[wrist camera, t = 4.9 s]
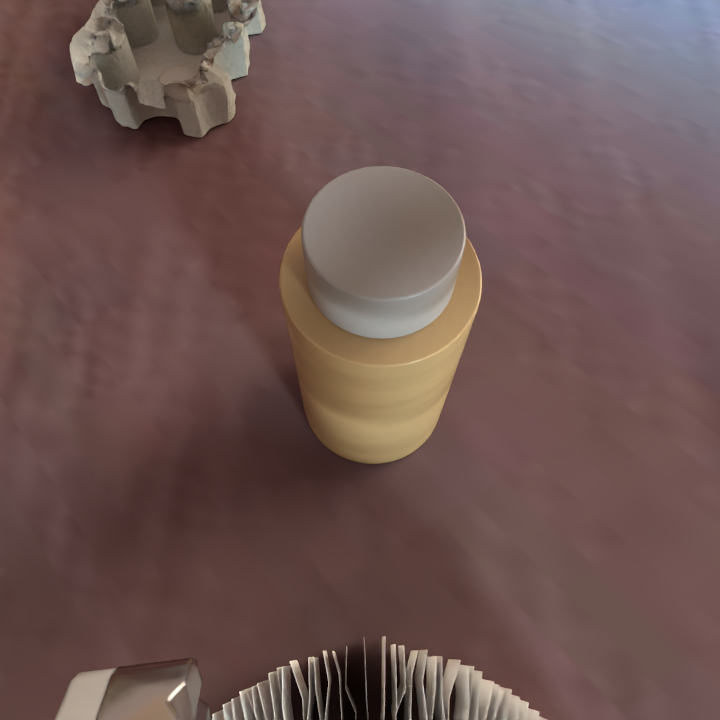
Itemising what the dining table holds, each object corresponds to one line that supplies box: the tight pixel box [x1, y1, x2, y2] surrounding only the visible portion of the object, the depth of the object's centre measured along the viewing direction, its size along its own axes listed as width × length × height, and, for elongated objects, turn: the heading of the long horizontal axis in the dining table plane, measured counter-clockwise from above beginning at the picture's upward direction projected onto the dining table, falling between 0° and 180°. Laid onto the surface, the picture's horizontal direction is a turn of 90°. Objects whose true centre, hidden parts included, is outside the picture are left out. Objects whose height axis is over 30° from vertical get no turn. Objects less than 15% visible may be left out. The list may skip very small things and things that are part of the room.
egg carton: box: [70, 0, 266, 138], centre depth 31 cm, size 11×8×4 cm
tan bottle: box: [279, 166, 482, 464], centre depth 20 cm, size 6×6×11 cm
